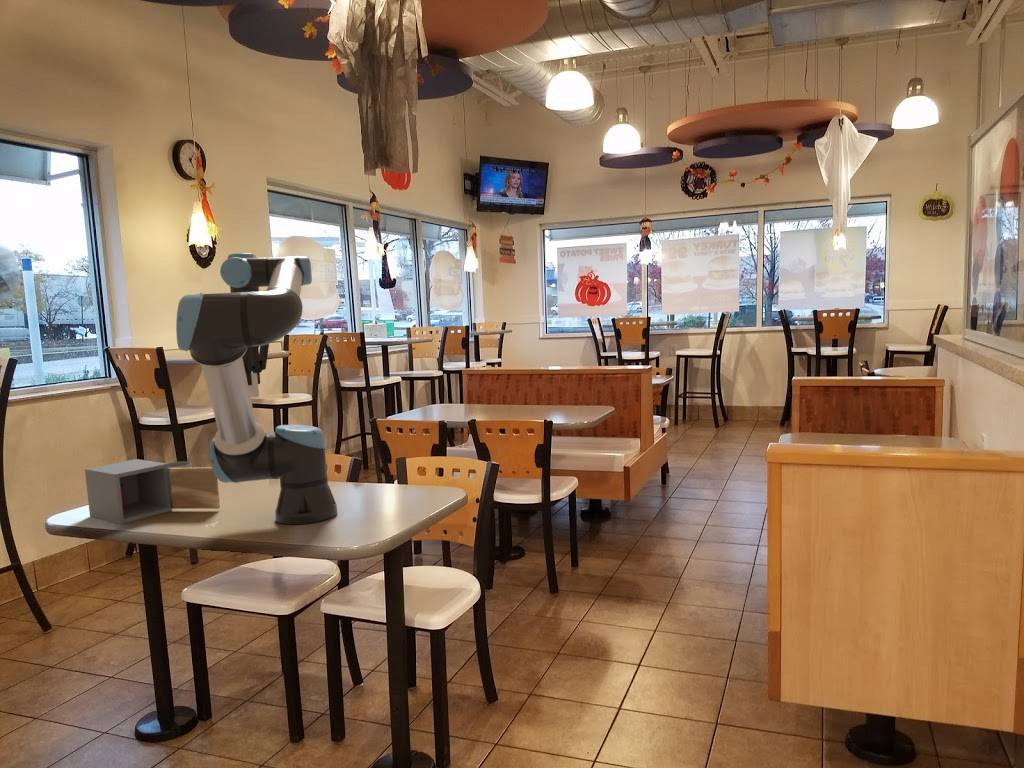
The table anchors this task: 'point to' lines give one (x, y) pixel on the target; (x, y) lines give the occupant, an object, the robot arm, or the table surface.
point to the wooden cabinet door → (193, 488)
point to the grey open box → (128, 490)
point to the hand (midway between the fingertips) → (253, 396)
